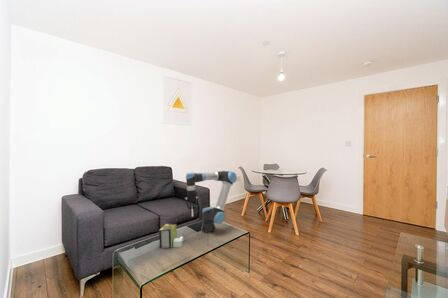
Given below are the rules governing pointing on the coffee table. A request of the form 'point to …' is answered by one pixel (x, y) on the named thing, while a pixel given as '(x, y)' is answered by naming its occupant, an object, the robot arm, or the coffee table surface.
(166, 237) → the protein box
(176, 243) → the sage block
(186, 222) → the coffee table surface
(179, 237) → the metal tin
